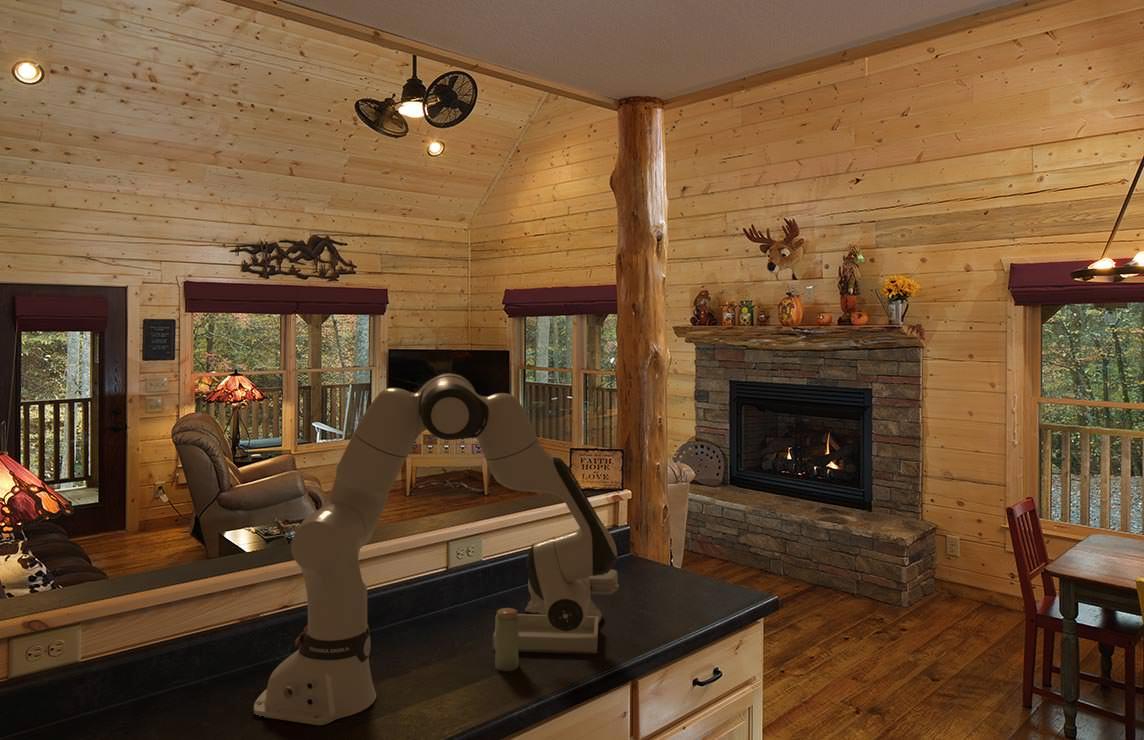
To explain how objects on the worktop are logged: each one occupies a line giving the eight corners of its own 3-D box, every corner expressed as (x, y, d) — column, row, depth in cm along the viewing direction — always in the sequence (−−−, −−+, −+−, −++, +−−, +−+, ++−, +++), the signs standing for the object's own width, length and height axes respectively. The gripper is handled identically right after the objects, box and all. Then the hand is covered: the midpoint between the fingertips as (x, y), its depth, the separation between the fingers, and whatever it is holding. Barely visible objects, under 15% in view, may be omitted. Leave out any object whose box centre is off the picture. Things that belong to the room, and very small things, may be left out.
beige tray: (493, 650, 171) (493, 635, 171) (502, 627, 184) (502, 613, 184) (596, 653, 169) (596, 638, 169) (598, 630, 183) (598, 616, 183)
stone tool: (515, 609, 200) (559, 639, 178) (514, 596, 200) (558, 625, 178) (578, 594, 210) (627, 621, 188) (577, 582, 210) (627, 607, 188)
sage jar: (493, 670, 160) (493, 615, 160) (497, 660, 165) (497, 607, 165) (516, 671, 160) (517, 616, 160) (519, 661, 165) (520, 607, 165)
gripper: (619, 575, 161) (619, 557, 175) (524, 573, 163) (531, 554, 176) (618, 604, 162) (618, 583, 175) (524, 601, 163) (531, 581, 177)
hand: (574, 569), depth 176 cm, fingers closed on birch block, 4 cm apart
